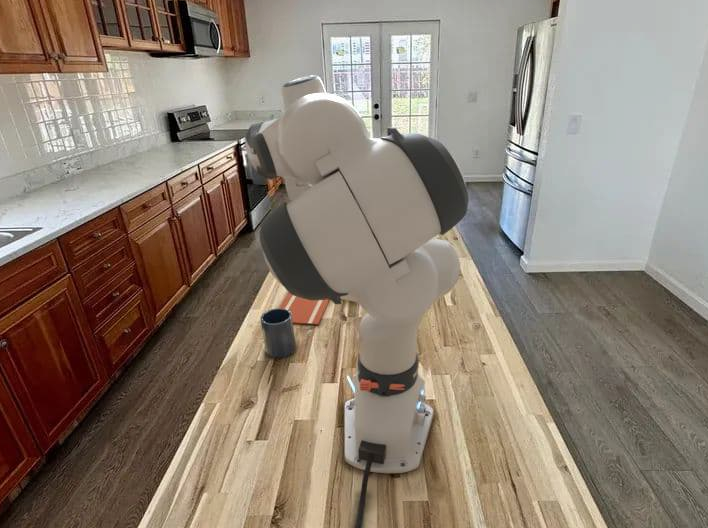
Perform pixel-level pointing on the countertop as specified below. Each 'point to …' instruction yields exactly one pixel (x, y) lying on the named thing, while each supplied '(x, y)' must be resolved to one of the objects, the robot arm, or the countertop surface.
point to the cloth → (304, 309)
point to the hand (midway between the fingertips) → (339, 211)
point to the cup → (278, 332)
